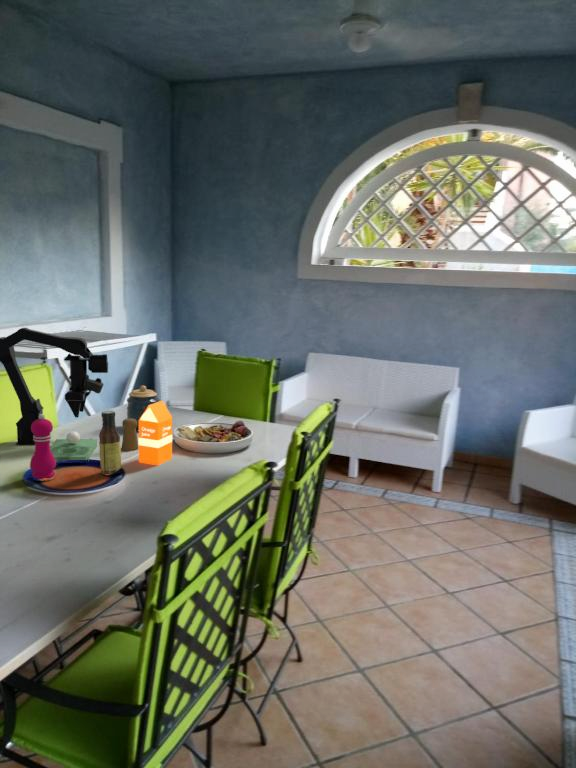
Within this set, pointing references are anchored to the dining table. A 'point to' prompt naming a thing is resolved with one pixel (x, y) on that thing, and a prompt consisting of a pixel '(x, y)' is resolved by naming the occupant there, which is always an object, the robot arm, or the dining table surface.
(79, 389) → the robot arm
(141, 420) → the orange juice
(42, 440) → the pepper mill
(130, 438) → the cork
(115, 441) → the sauce bottle
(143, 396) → the canister
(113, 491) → the dining table surface
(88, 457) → the green flat block
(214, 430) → the bowl
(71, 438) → the ball
